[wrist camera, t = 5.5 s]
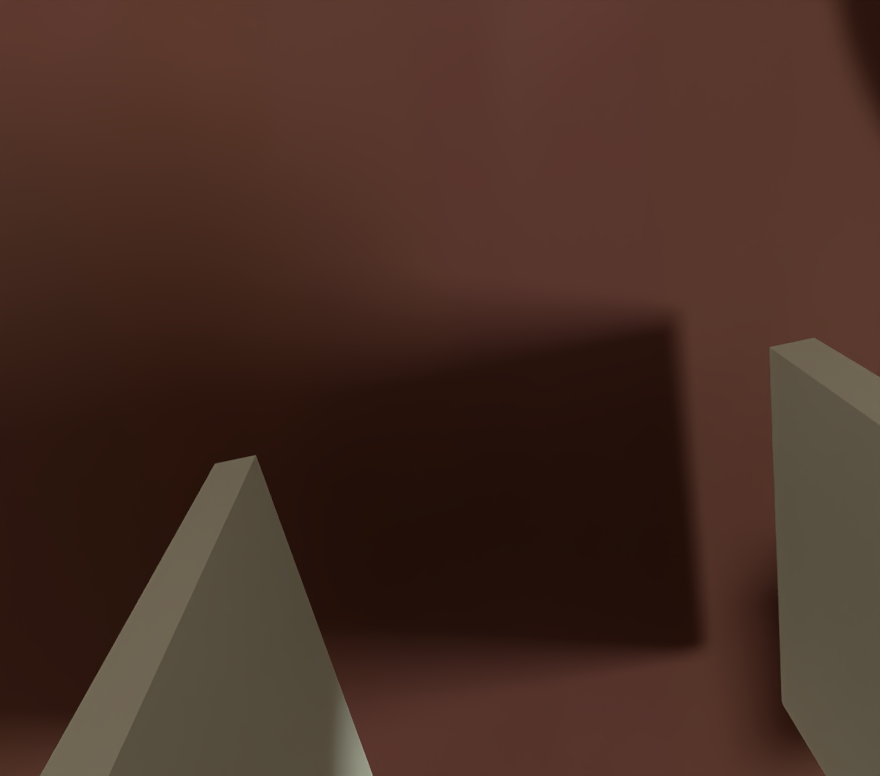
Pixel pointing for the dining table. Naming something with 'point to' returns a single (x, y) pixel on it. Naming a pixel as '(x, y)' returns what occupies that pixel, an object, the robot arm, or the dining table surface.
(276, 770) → the cover
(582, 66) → the dining table surface
